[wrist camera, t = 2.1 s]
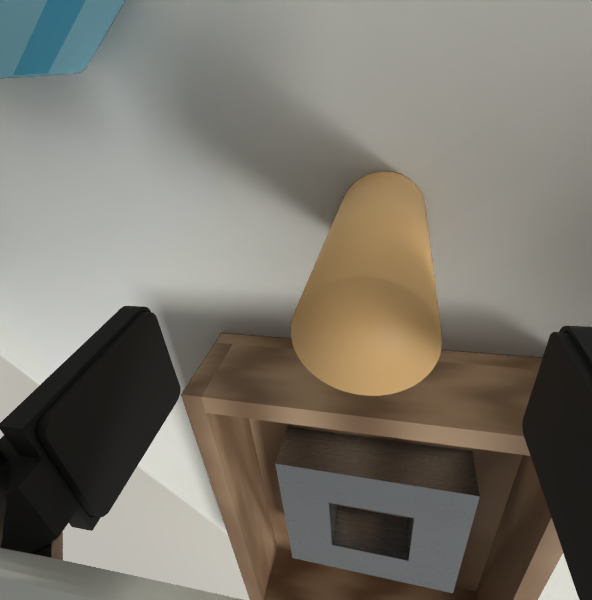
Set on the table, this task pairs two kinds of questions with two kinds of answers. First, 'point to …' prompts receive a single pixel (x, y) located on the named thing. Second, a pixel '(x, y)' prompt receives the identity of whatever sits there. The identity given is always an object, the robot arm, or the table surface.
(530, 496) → the open box
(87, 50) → the data package
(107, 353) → the robot arm
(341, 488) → the bore plate
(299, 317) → the peg
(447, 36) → the table surface
